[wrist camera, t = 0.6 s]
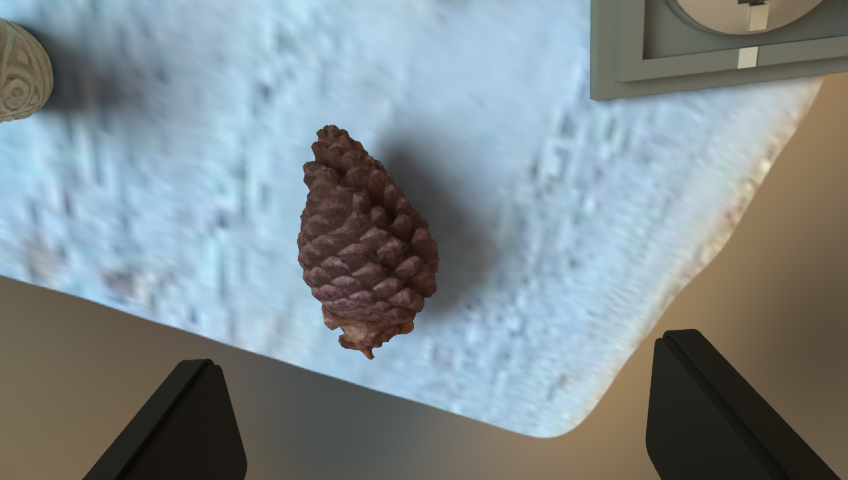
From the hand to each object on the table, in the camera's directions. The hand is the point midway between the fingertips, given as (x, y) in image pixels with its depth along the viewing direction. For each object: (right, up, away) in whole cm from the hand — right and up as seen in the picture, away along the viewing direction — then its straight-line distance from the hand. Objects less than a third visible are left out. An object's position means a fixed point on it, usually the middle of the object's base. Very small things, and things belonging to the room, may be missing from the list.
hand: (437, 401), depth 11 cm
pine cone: (-4, +5, +29) cm, 30 cm away
